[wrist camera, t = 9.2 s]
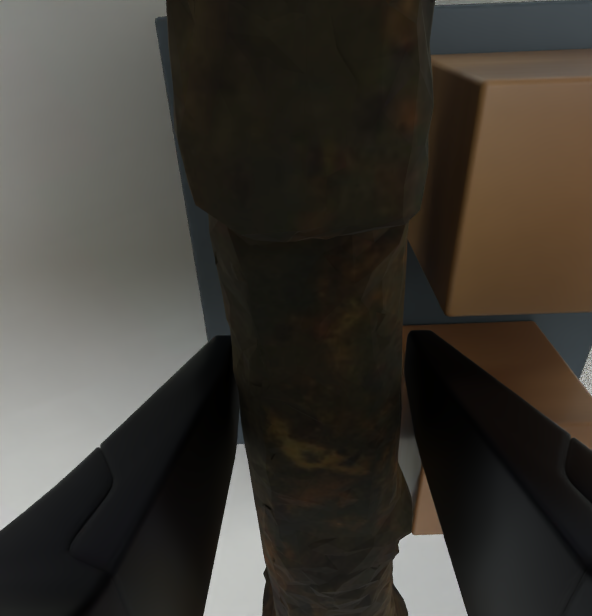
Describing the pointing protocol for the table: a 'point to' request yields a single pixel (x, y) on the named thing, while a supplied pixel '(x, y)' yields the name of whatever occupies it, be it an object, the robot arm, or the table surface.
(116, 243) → the table surface
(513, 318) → the tray
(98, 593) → the robot arm
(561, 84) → the brown cardboard cube
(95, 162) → the table surface
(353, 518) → the brown wooden log
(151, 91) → the table surface
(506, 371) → the crumb
